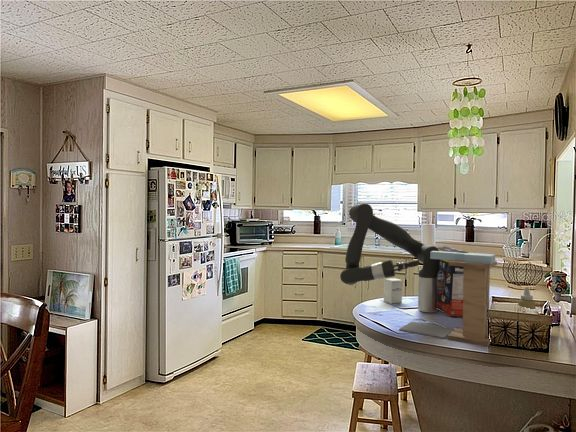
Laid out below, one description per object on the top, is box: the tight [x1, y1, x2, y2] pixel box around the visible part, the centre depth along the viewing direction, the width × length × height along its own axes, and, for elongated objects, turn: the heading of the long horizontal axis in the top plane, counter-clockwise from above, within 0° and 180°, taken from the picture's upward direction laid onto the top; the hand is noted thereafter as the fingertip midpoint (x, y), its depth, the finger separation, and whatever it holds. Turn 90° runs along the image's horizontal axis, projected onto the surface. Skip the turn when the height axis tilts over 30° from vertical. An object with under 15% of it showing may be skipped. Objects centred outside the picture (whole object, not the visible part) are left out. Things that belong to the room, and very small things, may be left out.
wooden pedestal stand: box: [447, 260, 498, 347], centre depth 173 cm, size 14×15×31 cm
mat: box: [398, 321, 456, 339], centre depth 184 cm, size 15×19×1 cm
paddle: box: [430, 251, 496, 264], centre depth 176 cm, size 8×24×3 cm, turn 54°
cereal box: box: [437, 246, 470, 319], centre depth 218 cm, size 27×11×32 cm, turn 1°
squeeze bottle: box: [517, 286, 537, 310], centre depth 188 cm, size 8×8×18 cm
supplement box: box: [383, 277, 403, 305], centre depth 239 cm, size 7×7×13 cm
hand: (418, 262), depth 193 cm, fingers open, 8 cm apart
